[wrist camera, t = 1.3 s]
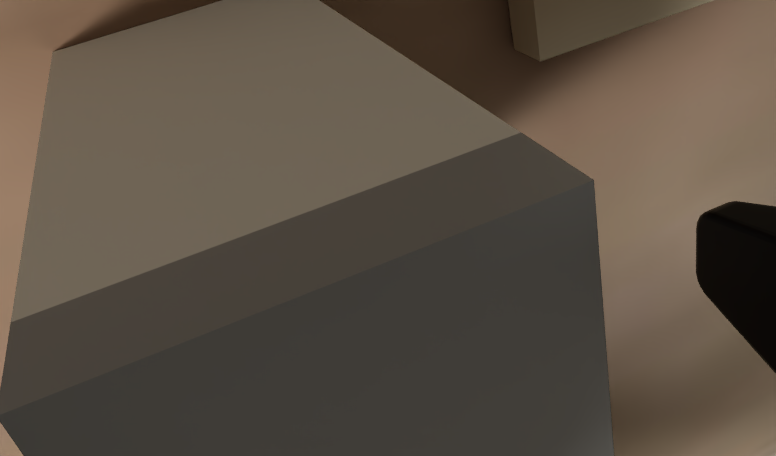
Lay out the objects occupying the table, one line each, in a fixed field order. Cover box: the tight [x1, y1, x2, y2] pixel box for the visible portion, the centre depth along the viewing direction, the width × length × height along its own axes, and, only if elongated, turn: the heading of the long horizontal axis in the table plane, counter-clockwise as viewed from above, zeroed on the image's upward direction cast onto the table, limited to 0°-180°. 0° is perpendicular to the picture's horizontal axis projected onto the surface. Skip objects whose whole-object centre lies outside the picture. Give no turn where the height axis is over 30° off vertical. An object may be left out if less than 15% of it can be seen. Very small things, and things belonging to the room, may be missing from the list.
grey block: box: [0, 0, 614, 456], centre depth 10 cm, size 5×4×9 cm
